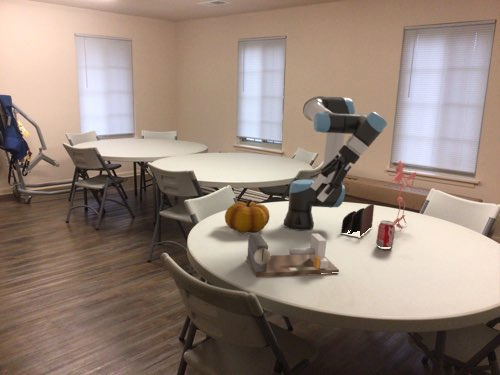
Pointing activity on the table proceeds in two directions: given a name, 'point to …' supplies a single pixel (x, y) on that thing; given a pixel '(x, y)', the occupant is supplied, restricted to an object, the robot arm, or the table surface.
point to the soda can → (385, 234)
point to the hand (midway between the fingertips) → (316, 194)
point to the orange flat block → (316, 262)
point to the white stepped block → (314, 250)
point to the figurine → (399, 178)
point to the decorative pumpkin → (247, 217)
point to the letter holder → (358, 220)
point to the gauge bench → (279, 261)
